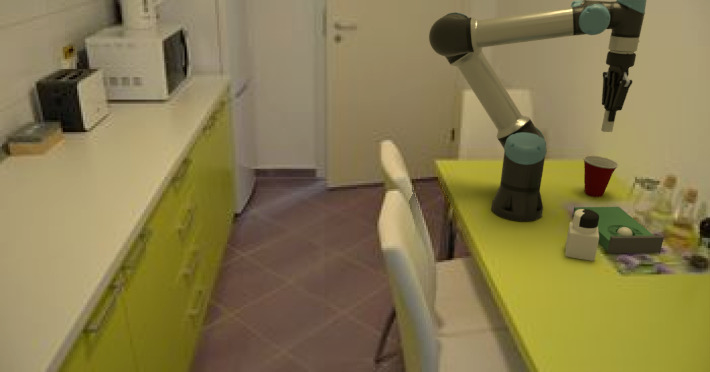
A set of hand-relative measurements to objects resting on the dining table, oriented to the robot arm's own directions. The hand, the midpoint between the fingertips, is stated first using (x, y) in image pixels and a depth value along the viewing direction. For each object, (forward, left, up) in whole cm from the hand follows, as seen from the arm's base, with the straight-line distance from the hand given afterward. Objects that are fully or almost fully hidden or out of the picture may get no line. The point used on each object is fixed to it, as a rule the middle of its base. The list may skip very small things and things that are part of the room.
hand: (606, 131), depth 173 cm
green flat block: (-3, -19, -24) cm, 31 cm away
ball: (-3, -25, -22) cm, 33 cm away
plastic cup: (+5, +9, -25) cm, 27 cm away
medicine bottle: (-18, -31, -25) cm, 43 cm away
